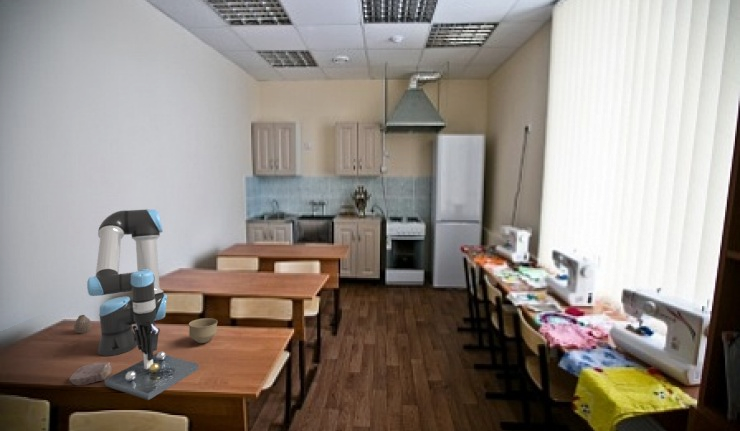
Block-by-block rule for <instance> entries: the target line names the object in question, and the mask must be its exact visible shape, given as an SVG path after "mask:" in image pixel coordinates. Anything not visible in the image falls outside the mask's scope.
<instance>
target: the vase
mask: <svg viewBox="0 0 740 431" xmlns="http://www.w3.org/2000/svg"><path fill="white" fill-rule="evenodd" d="M91 328H92V322H91V320H90V318H88V317H87V316H86V315H85V314H81V315H79V316H78V317H77V318H76V320H75V322H74V323H73V329H74V331H75V333H77V334H79V335H80V334H85V333H87V332H89V331H90V329H91Z"/></svg>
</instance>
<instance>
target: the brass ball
mask: <svg viewBox="0 0 740 431" xmlns="http://www.w3.org/2000/svg"><path fill="white" fill-rule="evenodd" d="M159 368H160V366H159V364H157V363H154V364H152V365H151V366H150V368H149V370H150V372H152V373H155V372H157V371H158V370H159Z"/></svg>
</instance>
